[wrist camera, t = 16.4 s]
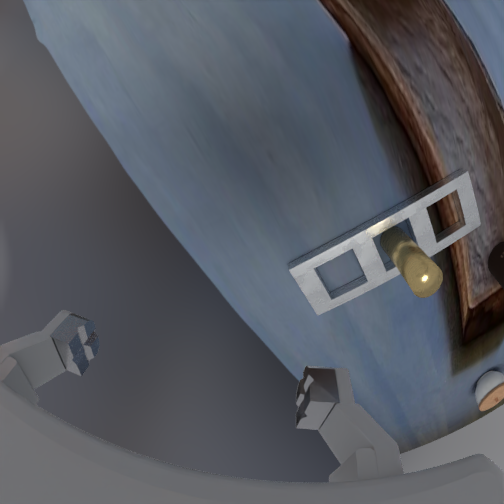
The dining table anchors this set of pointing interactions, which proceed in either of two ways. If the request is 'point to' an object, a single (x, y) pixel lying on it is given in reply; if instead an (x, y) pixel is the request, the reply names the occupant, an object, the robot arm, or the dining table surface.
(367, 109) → the dining table surface
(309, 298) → the rack rail
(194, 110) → the dining table surface
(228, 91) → the dining table surface
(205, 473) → the robot arm
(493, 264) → the coffee mug
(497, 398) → the lidded jar
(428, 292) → the tall brass rod
